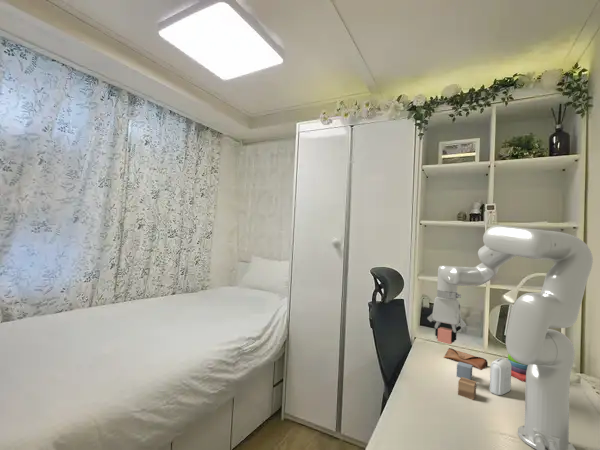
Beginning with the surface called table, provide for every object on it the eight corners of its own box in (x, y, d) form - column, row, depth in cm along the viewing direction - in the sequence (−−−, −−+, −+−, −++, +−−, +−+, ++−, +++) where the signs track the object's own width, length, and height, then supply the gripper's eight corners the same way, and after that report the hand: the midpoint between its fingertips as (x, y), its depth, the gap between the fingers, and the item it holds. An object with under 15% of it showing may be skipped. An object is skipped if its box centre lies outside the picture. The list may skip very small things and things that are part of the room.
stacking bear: (499, 372, 133) (501, 332, 134) (513, 369, 137) (514, 331, 138) (526, 383, 123) (527, 339, 124) (540, 380, 127) (541, 338, 128)
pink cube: (450, 344, 117) (451, 331, 118) (437, 341, 121) (437, 328, 121) (453, 341, 121) (453, 329, 122) (440, 338, 124) (440, 326, 125)
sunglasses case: (441, 357, 146) (444, 344, 148) (445, 361, 150) (448, 349, 152) (482, 370, 133) (485, 356, 135) (486, 375, 137) (488, 361, 139)
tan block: (473, 400, 104) (474, 386, 105) (457, 395, 107) (458, 381, 108) (475, 395, 108) (476, 381, 108) (460, 390, 111) (461, 376, 112)
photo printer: (499, 386, 117) (500, 354, 118) (512, 391, 114) (513, 358, 115) (487, 391, 112) (488, 358, 113) (500, 397, 108) (501, 362, 109)
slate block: (469, 380, 121) (470, 368, 121) (456, 376, 124) (456, 364, 124) (472, 377, 124) (472, 365, 125) (458, 373, 128) (459, 361, 128)
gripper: (471, 297, 120) (470, 343, 118) (428, 291, 131) (426, 333, 129) (468, 299, 114) (467, 347, 113) (423, 292, 125) (421, 336, 123)
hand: (445, 339), depth 121 cm, fingers closed on pink cube, 4 cm apart
